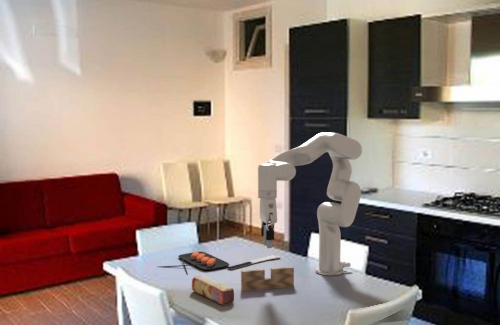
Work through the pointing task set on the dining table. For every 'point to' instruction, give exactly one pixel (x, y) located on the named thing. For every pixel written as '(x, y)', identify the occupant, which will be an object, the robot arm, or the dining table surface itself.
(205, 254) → the sushi plate
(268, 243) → the notched grey block
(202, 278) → the snack package
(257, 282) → the wooden board
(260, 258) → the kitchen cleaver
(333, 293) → the dining table surface
